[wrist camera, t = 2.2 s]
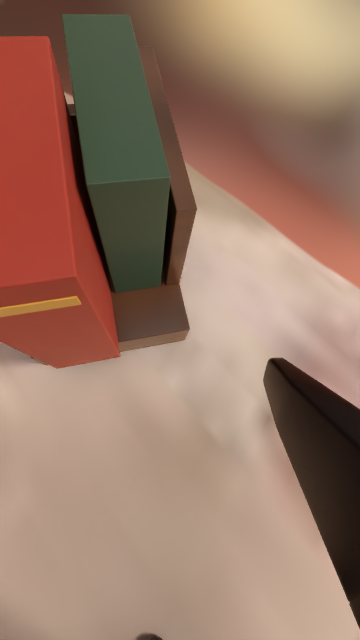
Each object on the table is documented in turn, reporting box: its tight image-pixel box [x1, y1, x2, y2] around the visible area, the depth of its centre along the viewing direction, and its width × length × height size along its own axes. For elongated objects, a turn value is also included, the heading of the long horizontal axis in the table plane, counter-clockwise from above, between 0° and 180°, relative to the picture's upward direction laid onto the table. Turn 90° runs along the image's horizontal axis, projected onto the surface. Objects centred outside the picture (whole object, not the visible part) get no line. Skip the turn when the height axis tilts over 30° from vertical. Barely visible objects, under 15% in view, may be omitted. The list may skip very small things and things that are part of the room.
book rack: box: [31, 47, 197, 365], centre depth 19 cm, size 15×10×11 cm
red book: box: [0, 36, 120, 368], centre depth 14 cm, size 10×4×12 cm, turn 12°
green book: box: [62, 14, 170, 293], centre depth 17 cm, size 10×3×10 cm, turn 12°
